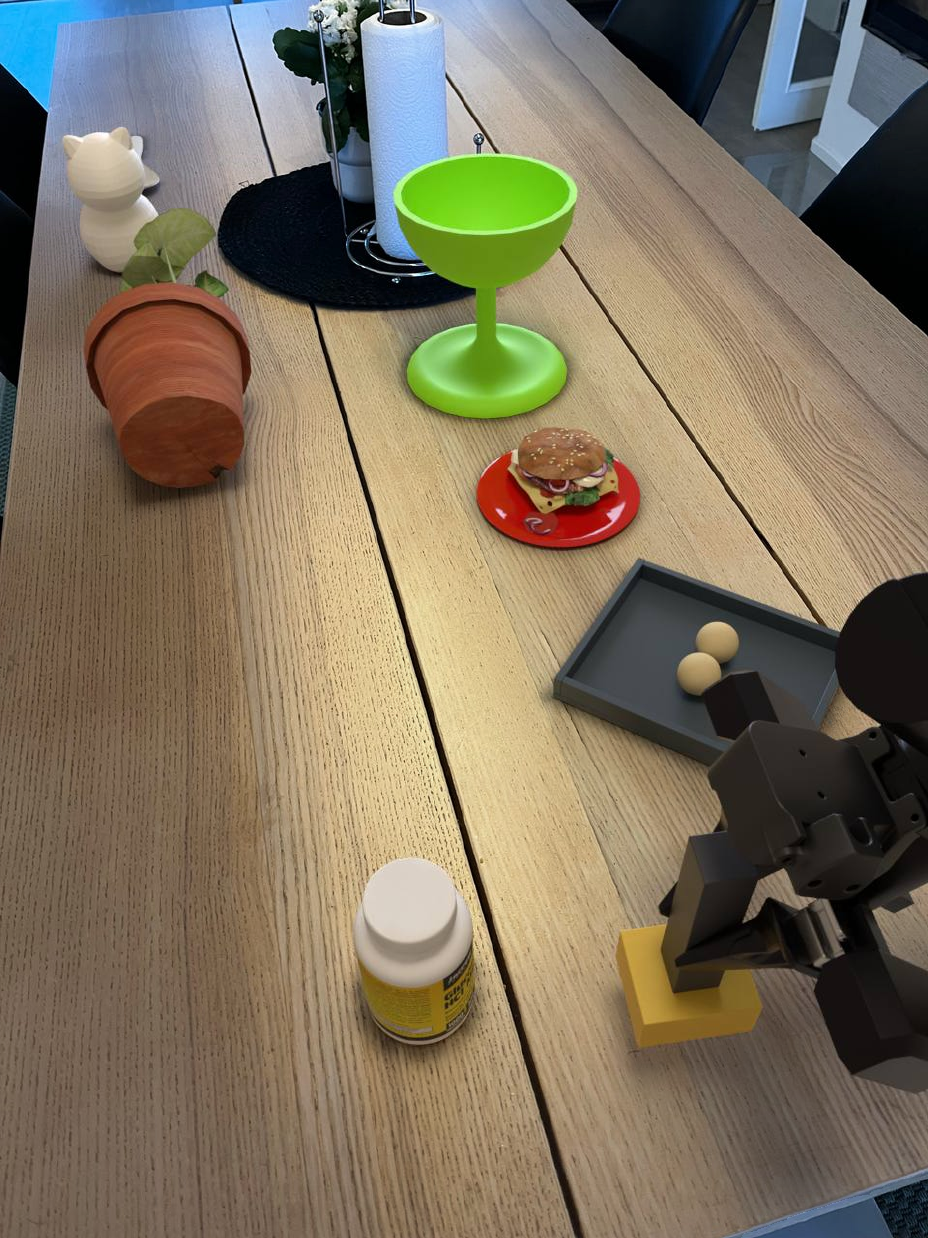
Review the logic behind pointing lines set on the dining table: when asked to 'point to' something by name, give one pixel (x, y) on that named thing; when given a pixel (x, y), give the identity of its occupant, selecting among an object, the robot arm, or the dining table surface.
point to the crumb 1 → (718, 641)
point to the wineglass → (486, 276)
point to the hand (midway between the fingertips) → (671, 939)
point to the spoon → (150, 176)
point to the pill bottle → (415, 951)
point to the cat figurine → (108, 194)
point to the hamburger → (558, 490)
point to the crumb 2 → (698, 672)
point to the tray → (666, 633)
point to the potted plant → (171, 359)
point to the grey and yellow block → (699, 911)
